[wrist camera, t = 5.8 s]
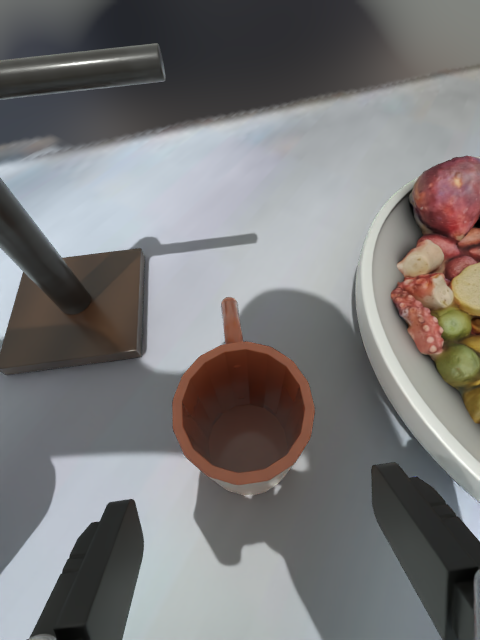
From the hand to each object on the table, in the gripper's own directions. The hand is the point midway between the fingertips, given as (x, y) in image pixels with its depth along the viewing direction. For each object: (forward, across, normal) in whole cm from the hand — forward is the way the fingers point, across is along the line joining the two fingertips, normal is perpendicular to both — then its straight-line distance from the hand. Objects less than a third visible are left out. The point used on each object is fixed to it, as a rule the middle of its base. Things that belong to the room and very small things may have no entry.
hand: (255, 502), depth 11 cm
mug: (+10, 0, +3) cm, 11 cm away
